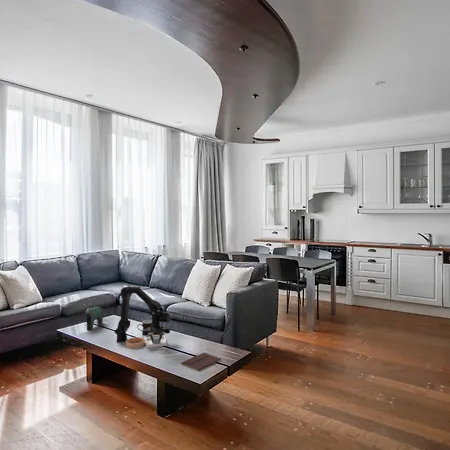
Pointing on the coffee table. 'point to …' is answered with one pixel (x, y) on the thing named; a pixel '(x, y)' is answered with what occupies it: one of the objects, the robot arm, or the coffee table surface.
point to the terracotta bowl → (135, 342)
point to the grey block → (155, 340)
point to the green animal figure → (94, 316)
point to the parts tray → (150, 344)
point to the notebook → (200, 361)
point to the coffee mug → (146, 325)
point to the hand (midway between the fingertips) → (156, 343)
